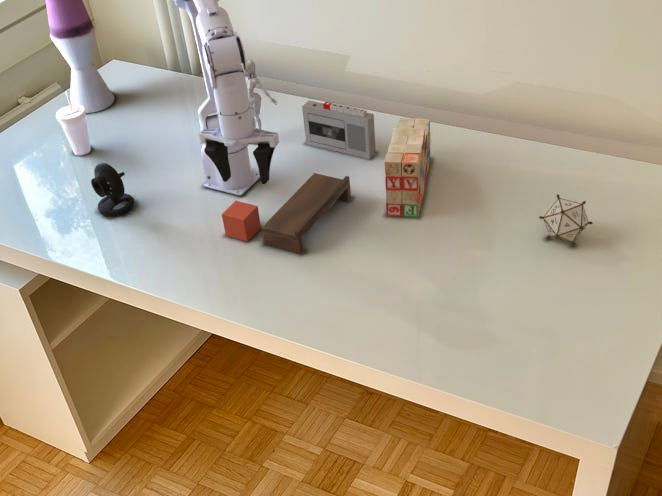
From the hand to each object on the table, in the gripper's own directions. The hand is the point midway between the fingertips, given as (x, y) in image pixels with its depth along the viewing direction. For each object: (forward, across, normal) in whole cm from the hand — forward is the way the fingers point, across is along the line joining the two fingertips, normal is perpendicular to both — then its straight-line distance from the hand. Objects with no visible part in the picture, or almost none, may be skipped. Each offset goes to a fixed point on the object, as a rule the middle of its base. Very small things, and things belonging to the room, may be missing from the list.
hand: (246, 180), depth 159 cm
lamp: (+6, -61, +43) cm, 75 cm away
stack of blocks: (+12, +24, +23) cm, 35 cm away
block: (+12, -3, +2) cm, 12 cm away
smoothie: (+8, -51, +22) cm, 56 cm away
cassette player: (+10, +6, +34) cm, 36 cm away
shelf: (+12, +8, +8) cm, 16 cm away
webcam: (+10, -32, +4) cm, 34 cm away
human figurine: (+9, -14, +35) cm, 38 cm away
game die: (+14, +55, +12) cm, 59 cm away
